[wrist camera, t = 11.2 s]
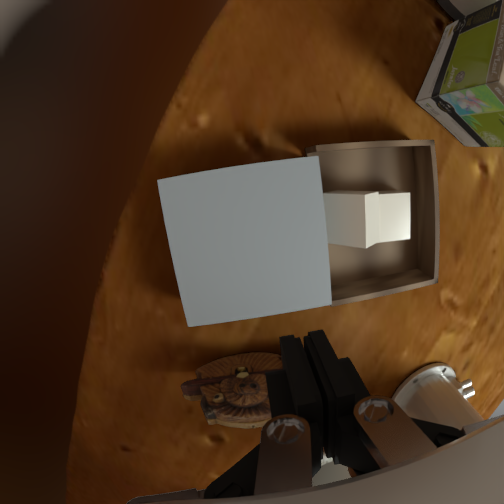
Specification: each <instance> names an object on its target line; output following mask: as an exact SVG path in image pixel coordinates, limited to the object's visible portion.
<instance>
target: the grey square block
mask: <svg viewBox="0 0 504 504" xmlns="http://www.w3.org/2000/svg"><path fill="white" fill-rule="evenodd" d="M157 182H158V188H159V194H160V199H161V205H162V210H163V216H164V221H165V226H166V231H167V236H168V241H169V246H170V251H171V256H172V260H173V265H174V269H175V274H176V278H177V283H178V287H179V291H180V296H181V300H182V304H183V308H184V312H185V316H186V320H187V324H188V327H192V326H200V325H208V324H216V323H223V322H230V321H237V320H244V319H250V318H257V317H263V316H269V315H276V314H282V313H288V312H293V311H299V310H305V309H310V308H316V307H321V306H326V305H332V297H331V280H330V265H329V252H328V240H327V229H326V218H325V208H324V199H323V190H322V181H321V173H320V165H319V157H318V156H311V157H302V158H293V159H285V160H276V161H269V162H261V163H254V164H247V165H240V166H233V167H227V168H221V169H214V170H209V171H203V172H197V173H191V174H186V175H181V176H175V177H170V178H165V179H160V180H157Z"/></svg>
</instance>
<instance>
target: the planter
mask: <svg viewBox="0 0 504 504" xmlns="http://www.w3.org/2000/svg"><path fill="white" fill-rule="evenodd" d="M497 1H499V0H437V2H438V3H439V4H440V6H441V7H442V8H443V9H444V10H445V11H446V12H447V13H448V14H449V15H450V16H451V17H452V18H453V19H454V20H456V21H457V20H459V19H462V18H464V17H465V16H467V15H469V14H471V13H473V12H475V11H478V10H480V9H482V8H484V7H486V6H488V5H491V4H493V3H495V2H497Z"/></svg>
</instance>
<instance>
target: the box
mask: <svg viewBox="0 0 504 504" xmlns="http://www.w3.org/2000/svg"><path fill="white" fill-rule="evenodd" d="M305 152H306V157H311V156H318V157H319V165H320V173H321V181H322V190H323V193H325V192H330V191H336V190H343V191H390V190H399V191H404V192H409V193H410V239H406V240H397V241H389V242H380V243H376V244H374V245H372V246H370V247H368V248H366V249H365V248H358V247H351V246H344V245H337V244H330V243H328V252H329V265H330V280H331V297H332V305H330V306H331V307H332V306H337V305H342V304H347V303H352V302H357V301H362V300H367V299H371V298H376V297H380V296H385V295H389V294H394V293H398V292H402V291H407V290H411V289H415V288H419V287H423V286H427V285H431V284H435V283H438V270H439V192H438V176H437V163H436V153H435V144H434V140H393V141H369V142H352V143H338V144H325V145H315V146H311V147H307V148H305Z"/></svg>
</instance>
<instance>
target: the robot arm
mask: <svg viewBox="0 0 504 504" xmlns="http://www.w3.org/2000/svg"><path fill="white" fill-rule="evenodd" d="M279 339H280V348H281V356H282V365H283V370H277V371H271V372H265V376H266V383H267V390H268V397H269V404H270V410H271V417H272V419H270V420H269V421H267V422H266V423H265V425H264V426H263V428H262V431H261V440H260V444H258V445H257V446H256V447H255V448H254V449H253V450H252V451H250V452H249V453H248V454H247V455H246V456H244V457H243V458H242V459H241V460H240V461H238V462H237V463H236V464H235V465H234V466H232V467H231V468H230V469H229V470H227V471H226V472H225V473H224V474H222V475H221V476H220V477H218V478H217V479H216V480H215V481H213V482H212V483H211V484H210V485H209V486H208V487H207V488H206V489H203V490H198V491H197V490H196V488H194V489H188V490H183V491H177V492H171V493H164V494H157V495H149V496H141V497H137V498H133V499H132V500H130V501H128V502H127V504H504V415H501V416H498V417H495V418H491V419H488V420H484V419H483V418H482V417H481V416H480V414H479V413H478V412H477V411H476V410H475V409H474V407H473V406H472V405H471V404H470V403H469V402H468V401H467V398H469V397H472V396H473V395H474V388H473V387H472V386H471V385H472V381H471V379H467V380H465V381H463V382H461V383H460V382H458V381H457V380H456V375H455V372H454V370H453V369H452V368H451V367H450V366H449V365H447V364H444V363H434V364H430V365H427V366H425V367H423V368H421V369H419V370H417V371H416V372H414V373H413V374H412V375H410V376H409V377H408V378H407V379H406V380H405V381H404V382H403V383H402V384H401V385H400V386H399V387H398V389H397V390H396V392H395V393H394V395H393V397H392V399H391V398H388V397H386V396H380V395H375V396H370V394H369V392H368V390H367V388H366V387H365V385H364V383H363V381H362V379H361V378H360V376H359V374H358V372H357V371H356V369H355V367H354V365H353V364H352V362H351V360H350V359H349V358H348V357H346V358H342V359H338V358H337V356H336V354H335V352H334V350H333V348H332V346H331V344H330V343H329V341H328V339H327V337H326V335H325V333H324V331H323V330H317V331H311V332H308V336H304V338H303V339H304V348H303V345H302V342H301V339H300V337H298V338H295V337H294V335H288V336H282V337H279ZM323 447H324V450H325V454H326V457H327V458H330V457H332V458H333V462H334V464H342V465H344V466H347V467H348V471H349V474H350V476H351V477H352V478H348V479H344V480H341V481H336V482H332V483H328V484H323V485H318V486H314V487H312V478H313V476H314V475H315V474H316V473H317V472H318V471H319V470H320V468H321V459H323Z"/></svg>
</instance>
